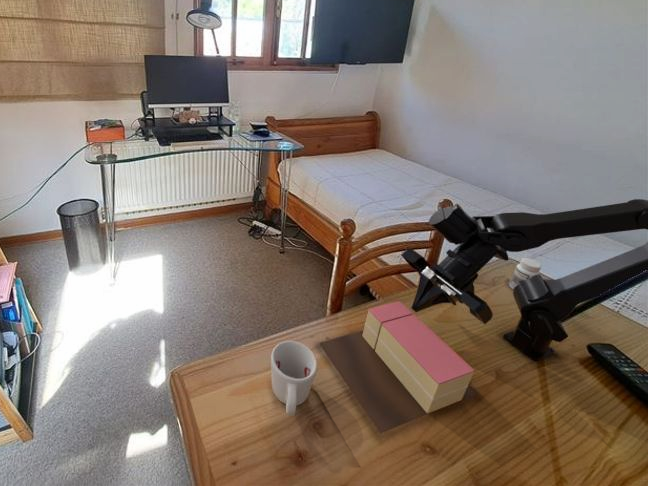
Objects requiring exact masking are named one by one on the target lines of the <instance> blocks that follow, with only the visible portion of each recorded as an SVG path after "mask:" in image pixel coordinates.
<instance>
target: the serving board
mask: <svg viewBox="0 0 648 486" xmlns="http://www.w3.org/2000/svg"><path fill="white" fill-rule="evenodd" d="M363 330H364V329H362V330H359V331H356V332H353V333H349V334H345V335H341V336H338V337H334V338H331V339H327V340H323V341H320V342H318V344H319V346H320V347H321V349H322V350H323V352H324V354H325V355H326V356H327V358H328V360H329V361H330V362H331V364H332V365H333V366H334V368H335V369H336V371H337V373H338V374H339V375H340V377H341V378H342V380H343V381H344V383H345V384H346V386H347V387H348V389H349V390H350V392H351V393H352V394H353V396H354V397H355V399H356V400H357V402H358V403H359V405H360V406H361V408H362V409H363V411H364V412H365V413H366V415H367V417H368V418H369V420H370V421H371V422H372V424H373V426H374V428H376V430H377V431H378V433H379V434H381V433H384V432H386V431H388V430H391V429H394V428H396V427H398V426H401V425H403V424H406V423H409V422H411V421H414V420H416V419H418V418H422V417H424V416H426V415H428V414H431V413H434V412H436V411H437V410H435V411H433V412H430V413H428V414H427V413H426V412H425V410H424V409H423V408H422V407H421V406H420V404H419V403H418V402H417V401H416V400H415V398H414V397H413V396H412V395H411V394H410V392H409V391H408V390H407V389H406V388H405V386H404V385H403V384H402V383H401V382H400V380H399V379H398V378H397V377H396V376H395V374H394V373H393V372H392V371H391V370H390V368H389V367H388V366H387V365H386V364H385V363H384V361H383V360H382V359H381V358H380V357H379V355H378V354H377V353H376V352H375V349H373V348H372V347H371V346H370V345H369V343H368V342H367V341H366V340H365V339H364V337H363V336H362V334H363ZM477 394H478V392H477V391H476V390H475V388H473V387H472V386H471V385H469V384H468V387H467V389H466V391H465V393H464V395H463V398H462V400H460V401H463V400H465V399H468V398H471V397H473V396H476V395H477ZM460 401H459V402H460ZM456 403H457V402H455V403H454V404H456ZM451 405H452V404H450V405H449V406H451ZM446 407H447V406H445V407H444V408H446ZM441 409H442V408H440V409H439V410H441Z"/></svg>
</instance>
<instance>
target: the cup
mask: <svg viewBox="0 0 648 486" xmlns="http://www.w3.org/2000/svg"><path fill="white" fill-rule="evenodd" d="M270 355H271V356H270V375H271V378H270V379H271V388H272V392H273V393H274V395H275V397H276V398H277V400H279V401H280V402H281V403H283V404H285V413H286V415H287V416H291V417H292V416H295V414H296V411H297V406H299V405H302V404H303V403H304V402H305V401H306V400H307V399H308V396H309V394H310V392H311V389H312V387H313V383H314V381H315V378H316V375H317V372H318V361H317V358H316V355H315V354H314V352H313V351H312V349H310V348H309V347H308V346H306V345H305V344H303V343H301V342H300V341H295V340H285V341H282V342H279V343H277V344H276V346H274V347H273V348H272V351H271V354H270Z"/></svg>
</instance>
